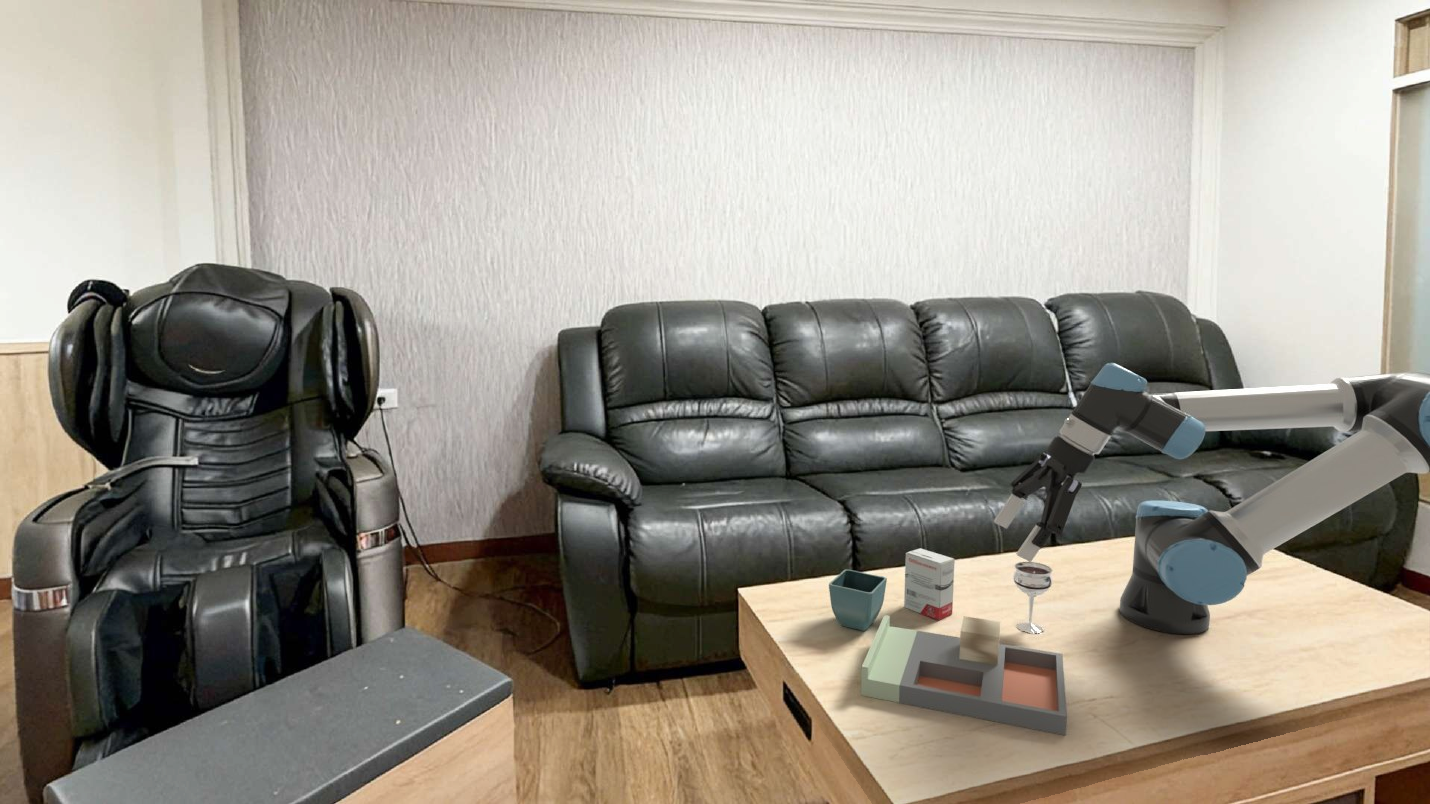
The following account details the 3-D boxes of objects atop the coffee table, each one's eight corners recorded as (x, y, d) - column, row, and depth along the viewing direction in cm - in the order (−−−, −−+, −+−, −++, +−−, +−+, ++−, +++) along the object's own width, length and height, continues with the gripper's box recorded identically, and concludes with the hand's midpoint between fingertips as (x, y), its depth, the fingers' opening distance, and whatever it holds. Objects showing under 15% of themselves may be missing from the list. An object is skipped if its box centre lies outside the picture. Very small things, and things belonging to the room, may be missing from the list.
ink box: (953, 614, 151) (955, 557, 149) (939, 621, 148) (940, 563, 146) (917, 600, 157) (919, 546, 155) (903, 607, 154) (904, 552, 152)
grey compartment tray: (1061, 670, 129) (1063, 642, 128) (1065, 735, 111) (1067, 704, 110) (883, 640, 140) (884, 615, 139) (861, 695, 122) (861, 666, 121)
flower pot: (870, 638, 141) (871, 593, 140) (827, 628, 146) (827, 583, 144) (886, 620, 148) (887, 577, 147) (844, 610, 153) (845, 568, 152)
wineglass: (1054, 627, 145) (1058, 567, 143) (1041, 639, 140) (1045, 578, 138) (1018, 616, 149) (1021, 558, 147) (1005, 628, 144) (1008, 569, 142)
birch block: (999, 648, 130) (1000, 621, 129) (997, 665, 125) (998, 637, 124) (962, 643, 133) (963, 616, 132) (959, 658, 127) (960, 631, 126)
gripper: (1034, 415, 146) (975, 504, 152) (1087, 459, 122) (1015, 564, 128) (1067, 432, 147) (1007, 521, 153) (1127, 479, 123) (1053, 583, 129)
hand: (1011, 540), depth 140 cm, fingers open, 13 cm apart
